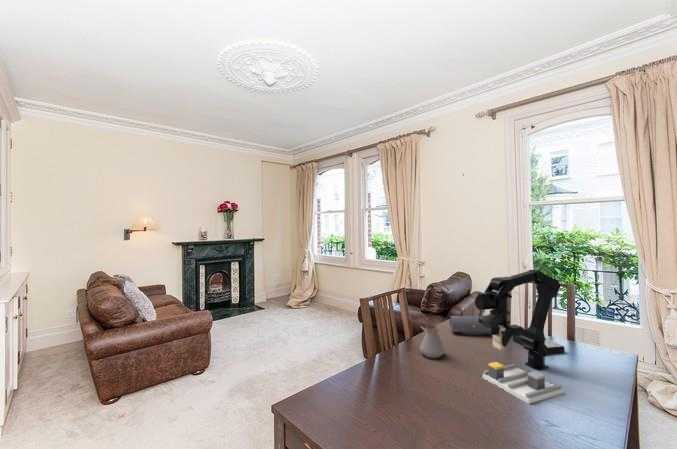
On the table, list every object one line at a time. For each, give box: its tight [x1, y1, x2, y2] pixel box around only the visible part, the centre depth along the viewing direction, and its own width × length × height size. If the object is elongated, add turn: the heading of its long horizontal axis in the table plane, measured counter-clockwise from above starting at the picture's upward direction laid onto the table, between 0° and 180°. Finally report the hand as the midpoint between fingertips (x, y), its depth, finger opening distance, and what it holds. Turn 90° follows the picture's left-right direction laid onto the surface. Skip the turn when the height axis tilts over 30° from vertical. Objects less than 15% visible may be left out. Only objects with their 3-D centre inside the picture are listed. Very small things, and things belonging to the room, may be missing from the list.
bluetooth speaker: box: [449, 315, 491, 336], centre depth 178 cm, size 23×9×10 cm, turn 81°
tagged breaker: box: [487, 361, 505, 380], centre depth 124 cm, size 4×4×5 cm
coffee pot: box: [408, 315, 446, 359], centre depth 154 cm, size 21×12×15 cm, turn 29°
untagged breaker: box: [528, 370, 546, 390], centre depth 116 cm, size 4×4×5 cm
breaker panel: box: [482, 363, 564, 405], centre depth 121 cm, size 18×20×3 cm
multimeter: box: [512, 335, 566, 356], centre depth 159 cm, size 13×19×5 cm
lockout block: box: [492, 333, 509, 351], centre depth 133 cm, size 4×4×5 cm
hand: (500, 344), depth 133 cm, fingers closed on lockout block, 4 cm apart
